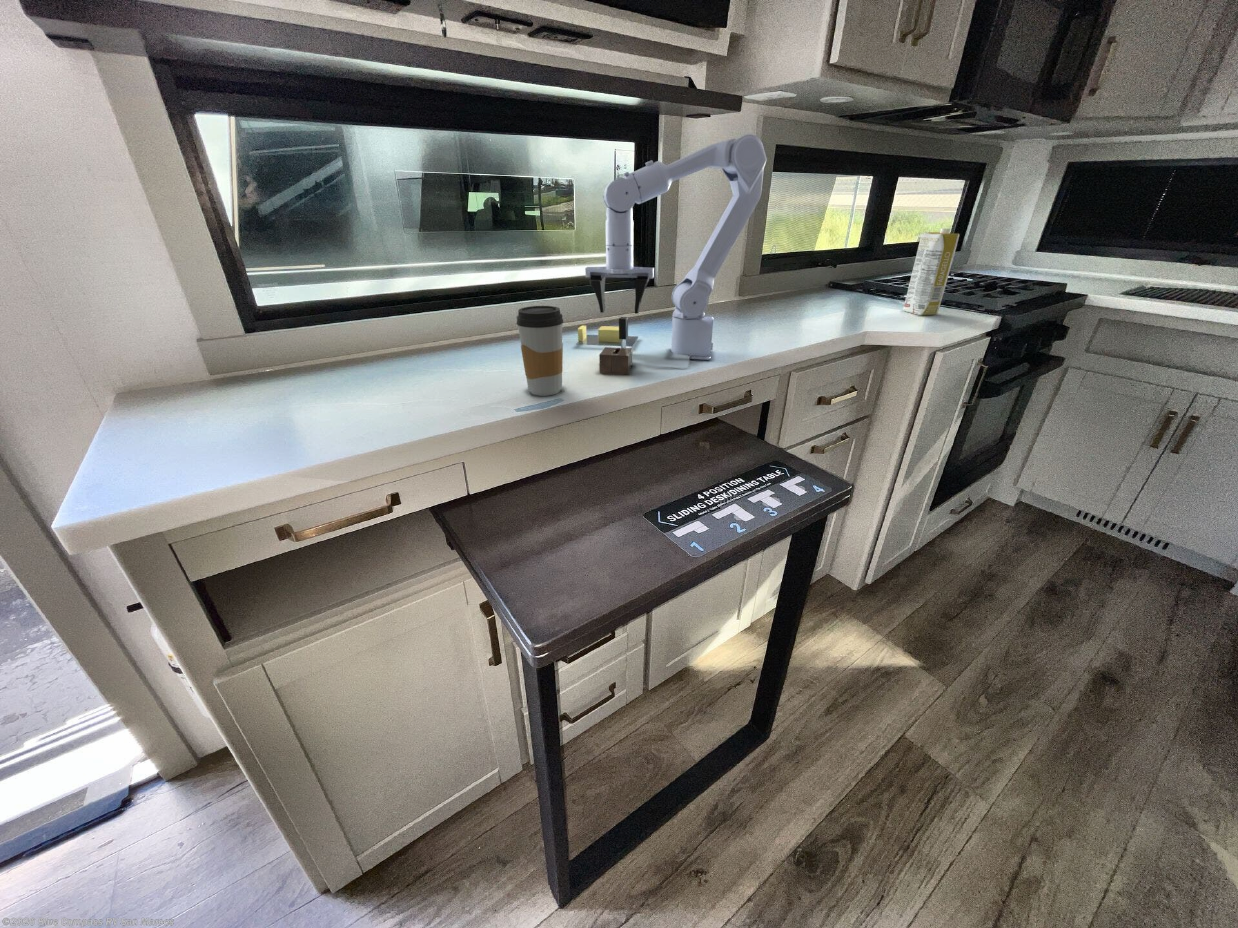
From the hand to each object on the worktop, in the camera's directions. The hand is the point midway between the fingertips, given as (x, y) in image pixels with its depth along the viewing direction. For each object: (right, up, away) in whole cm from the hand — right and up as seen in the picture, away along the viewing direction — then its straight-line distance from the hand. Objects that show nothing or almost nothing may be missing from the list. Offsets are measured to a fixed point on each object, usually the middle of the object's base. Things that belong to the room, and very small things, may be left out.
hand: (619, 312), depth 111 cm
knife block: (-1, -13, -4) cm, 14 cm away
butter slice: (-9, -2, +16) cm, 19 cm away
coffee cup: (-14, -20, -15) cm, 29 cm away
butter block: (-2, -3, +15) cm, 15 cm away
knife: (+1, -9, +4) cm, 10 cm away
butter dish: (-3, -3, +15) cm, 16 cm away
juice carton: (+94, +14, +47) cm, 106 cm away
